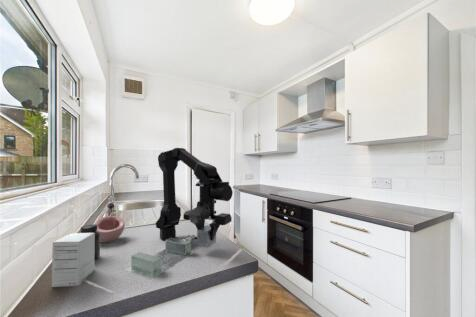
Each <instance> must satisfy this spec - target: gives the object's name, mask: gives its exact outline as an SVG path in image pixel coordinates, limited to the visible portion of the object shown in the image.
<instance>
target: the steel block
mask: <svg viewBox="0 0 476 317" xmlns="http://www.w3.org/2000/svg"><path fill="white" fill-rule="evenodd" d="M196 229H197V228H196ZM196 231H197V232H196V234H197V235H196V237H197V239H196V246H197V247H202V248H205V249H206V248H207V249H209V248H210V247H211V246H212V245H214V244H216V243H217V234H216V235H215V237H214V240H213V241H211V227H210V225H209V224H208V225H207V224H206V225H204V227H202V228H200V229H197V230H196Z"/></svg>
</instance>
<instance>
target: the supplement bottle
mask: <svg viewBox="0 0 476 317" xmlns="http://www.w3.org/2000/svg"><path fill="white" fill-rule="evenodd" d="M96 230H97V225H96V224H94V223H93V224H86V225H83V226H81V227H80V231H79V233H95V255H94V262H95V261H97V260H99V259H100V257H101V241H100V233H99V232H97V231H96Z"/></svg>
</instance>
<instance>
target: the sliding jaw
mask: <svg viewBox="0 0 476 317" xmlns="http://www.w3.org/2000/svg"><path fill="white" fill-rule="evenodd" d="M194 241H197V235H195V234H192V235H190V234H189V235H187V237H186V238H183V239H180V238H177V237H176V238H172V237H171V238H169V239H166V241H165V246H164V247H165V248H164V250H166V251H170V252H174V253H178V254H182V255H187V254H189V253H190V252H191V251H192V243H193V242H194Z"/></svg>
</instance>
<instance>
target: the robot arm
mask: <svg viewBox="0 0 476 317" xmlns="http://www.w3.org/2000/svg"><path fill="white" fill-rule="evenodd" d="M157 161H158V167H159V169H160V170H161V172H162V179H163V180H162V184H163V185H162V186H163V188H162V189H163V206H162V208H161V210H160V214H159V215H160V216H159V218H158V219H157V220H156V221H155V228H156V229H159V239H160V241H163V242H166V239H169V238H171V237H172V238H177V237H176V236H177V234H176V233H177V232H176V226H178V225H179V223H180V220H181V216H182V214H181V213H182V212H181V210H182V209H181V207H180V206H178V204H177V203H176V202H177V200H176V199H177V198H176V181H175V180H176V179H175V178H176V177H175V171H176V169H177V167H178V166H179V165H178V164H179V162H180V161H181V162H182V163H184V165H186V166H188V168H189V169H191V170H192V171H193V175H194V176H195V177H196V178H197V180H198V182H197V183H196V184H195V187H199V200H198V201H197V202H196V206H195V207H194V208H193V209H190V210H186V211H184V213H183V220H185V221H190V222H189V223H192V224H193V225H195V228H196V229H200V228H202V227H204V226H205V223H206V222H205V221H206V220H209V221H212V222H211V223H209V224H208V226H210V227H211V241H213V240H214V237H215V235H216V236H217V232H218V230H219V228H220V226H225V225H228V224H229V223H231V222H232V220H233V218H232V215H231V214H230V213H225V212H222V213H218V214H217V210H215V204H217V201H222V202H229V201H230V200H231V199H232V198H233V188H232V187H231V185H230V182H229V181H223V179H222V178H221V176H220V174H219V173H218V171H217V170H218V169H217V167H216V166H214V165H212V164H210V163H206V162H204V161H201V160H200V159H199V158H197V157H196V156H195V155H193V154H192V153H190V152H189V151H187V149H186V148H183V147H174V148H172V149H170V150H169V149H168V150H166V151H163V152H160V153H159V155H158V156H157Z"/></svg>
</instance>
